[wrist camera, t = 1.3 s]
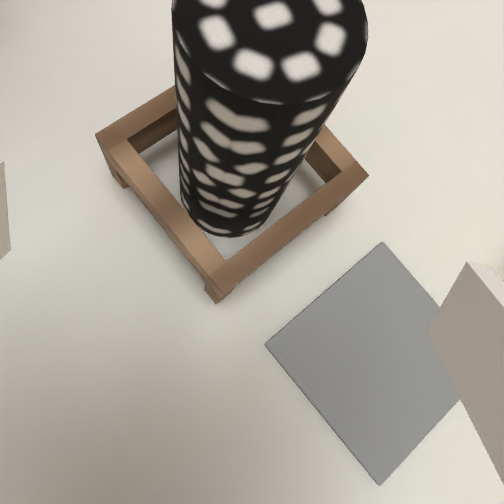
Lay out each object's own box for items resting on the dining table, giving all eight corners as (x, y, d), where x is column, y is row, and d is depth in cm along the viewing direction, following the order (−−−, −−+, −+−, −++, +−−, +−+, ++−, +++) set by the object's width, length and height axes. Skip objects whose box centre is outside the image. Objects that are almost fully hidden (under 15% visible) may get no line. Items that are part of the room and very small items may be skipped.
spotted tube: (250, 135, 38) (313, -84, 19) (290, 215, 37) (402, 68, 18) (164, 167, 36) (138, -40, 17) (204, 252, 35) (225, 133, 16)
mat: (264, 344, 34) (265, 344, 34) (380, 242, 38) (382, 241, 37) (377, 484, 33) (379, 486, 32) (487, 365, 36) (490, 365, 36)
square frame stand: (112, 175, 35) (94, 134, 29) (239, 92, 39) (249, 39, 32) (216, 304, 34) (223, 292, 27) (336, 206, 38) (369, 175, 31)
